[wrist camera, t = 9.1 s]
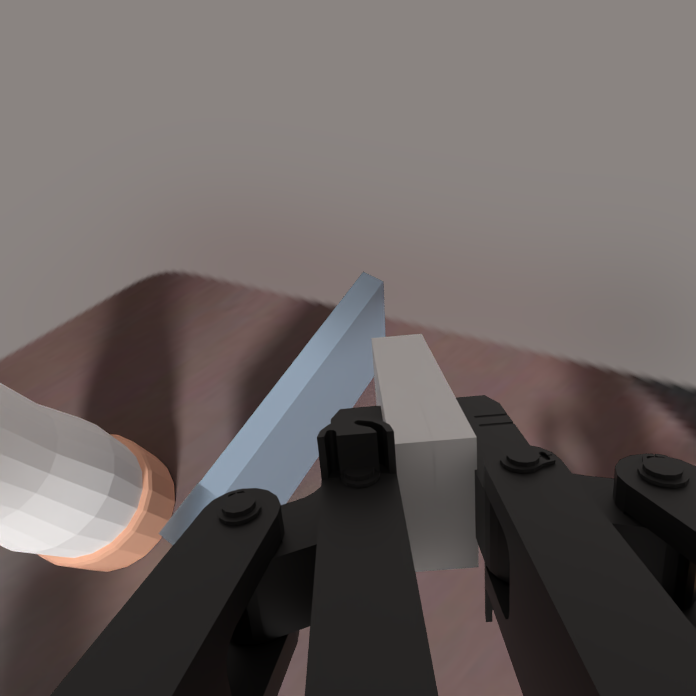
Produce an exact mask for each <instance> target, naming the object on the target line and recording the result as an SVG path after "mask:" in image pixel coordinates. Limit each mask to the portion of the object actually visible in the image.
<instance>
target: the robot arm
mask: <svg viewBox="0 0 696 696" xmlns="http://www.w3.org/2000/svg"><path fill="white" fill-rule="evenodd" d="M371 340H372V353H373V365H374V378H375V391H376V404H377V406H370V407H359V408H347V409H340V410H339V411H338V412H337V413H336V414H335V415H334V416H333V417H332V418H331V424H329V425H327V426H326V427H324V428H323V429H322V430H320V432H319V434H318V436H317V443H318V452H319V460H320V468H321V477H322V484H321V487H320V488H319V489H318V490H316V491H315V492H314V493H312V494H310V495H309V496H307V497H305V498H302V499H299V500H297V501H294V502H290V503H287V504H283V505H281V504H280V502H279V499H278V497H277V496H276V495H275V494H273V493H272V492H270V491H269V490H264V489H259V488H247V489H245V488H243V489H237V490H233V491H230V492H228V493H226V494H224V495H222V496H220V497H218V498H216V499H214V500H212V501H211V502H210V503H209V504H208V505H207V506H206V507H205V508H203V510H202V511H201V512H200V513H199V515H198V516H197V517H196V518H195V519H194V521H193V522H192V523H191V524H190V526H189V527H188V528H187V529H186V530H185V532H184V533H183V534H182V535H181V537H180V538H179V539H178V540H177V541H176V543H175V544H174V545H173V546H172V548H171V549H170V550H169V551H168V552H167V554H166V555H165V556H164V557H163V559H162V560H161V561H160V562H159V563H158V565H157V566H156V567H155V568H154V570H153V571H152V572H151V573H150V574H149V576H148V577H147V578H146V579H145V580H144V582H143V583H142V584H141V585H140V587H139V588H138V589H137V590H136V591H135V593H134V594H133V595H132V596H131V598H130V599H129V600H128V601H127V602H126V604H125V605H124V606H123V607H122V609H121V610H120V611H119V612H118V613H117V615H116V616H115V617H114V618H113V620H112V621H111V622H110V623H109V624H108V626H107V627H106V628H105V629H104V631H103V632H102V633H101V634H100V635H99V637H98V638H97V639H96V640H95V642H94V643H93V644H92V645H91V646H90V648H89V649H88V650H87V651H86V653H85V654H84V655H83V656H82V657H81V659H80V660H79V661H78V662H77V664H76V665H75V666H74V667H73V668H72V670H71V671H70V672H69V673H68V675H67V676H66V677H65V678H64V679H63V681H62V682H61V683H60V684H59V686H58V687H57V688H56V689H55V690H54V692H53V693H52V694H51V695H50V696H277V695H278V692H279V690H280V687H281V685H282V682H283V679H284V677H285V674H286V671H287V669H288V666H289V663H290V661H291V658H292V655H293V653H294V650H295V647H296V645H297V642H298V636H299V630H300V629H303V628H306V627H309V626H310V637H309V650H308V663H307V676H306V688H305V696H438V692H437V686H436V681H435V676H434V670H433V665H432V660H431V654H430V649H429V643H428V638H427V633H426V627H425V622H424V617H423V611H422V606H421V601H420V595H419V590H418V584H417V579H416V574H415V572H421V571H434V570H447V569H460V568H473V567H478V545H479V547H480V550H481V553H482V555H483V558H484V561H485V616H486V622H492V610H494V613H495V616H496V619H497V622H498V624H499V627H500V630H501V633H502V636H503V639H504V642H505V645H506V647H507V650H508V653H509V656H510V659H511V662H512V665H513V667H514V670H515V673H516V676H517V679H518V682H519V685H520V687H521V690H522V693H523V696H696V466H693V465H691V464H689V463H686V462H684V461H682V460H679V459H675V458H671V457H668V456H666V455H660V454H655V455H653V454H640V455H631V456H628V457H626V458H623V459H621V460H619V462H618V463H617V465H616V466H615V475H614V479H612V478H602V477H592V476H584V475H577V474H572V473H571V472H570V471H569V469H568V468H567V467H566V466H565V464H564V463H563V462H562V460H561V459H559V458H558V457H557V456H556V455H555V454H553V453H552V452H549V451H547V450H545V449H542V448H540V447H535V446H530V445H529V443H528V442H527V441H526V439H525V438H524V436H523V435H522V434H521V432H520V431H519V430H518V428H517V427H516V425H515V424H513V421H512V420H511V419H510V417H509V416H508V415H507V413H506V412H505V410H504V409H503V408H502V406H501V405H500V403H498V402H496V401H494V400H492V399H490V398H489V397H487V396H485V395H483V396H471V397H459V398H455V396H454V394H453V392H452V390H451V388H450V386H449V385H448V383H447V381H446V379H445V377H444V375H443V373H442V371H441V370H440V368H439V366H438V364H437V362H436V360H435V358H434V356H433V355H432V353H431V351H430V349H429V347H428V345H427V343H426V341H425V339H424V338H423V336H422V334H414V335H402V336H391V337H379V338H371Z"/></svg>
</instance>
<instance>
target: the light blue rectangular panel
mask: <svg viewBox="0 0 696 696" xmlns="http://www.w3.org/2000/svg"><path fill="white" fill-rule="evenodd" d="M379 337H385V313H384V284H383V281H381V280H379V279H377V278H375V277H373V276H371V275H369V274H367V273H365V272H363V273H362V274H361V275H360V277H359V278H358V279H357V280H356V282H355V283H354V284H353V286H352V287H351V288H350V290H349V291H348V292H347V293H346V295H345V296H344V297H343V298H342V300H341V301H340V302H339V304H338V305H337V306H336V307H335V309H334V310H333V311H332V313H331V314H330V315H329V316H328V318H327V319H326V320H325V322H324V323H323V324H322V326H321V327H320V328H319V329H318V331H317V332H316V333H315V335H314V336H313V337H312V338H311V340H310V341H309V342H308V344H307V345H306V346H305V347H304V349H303V350H302V351H301V353H300V354H299V355H298V356H297V358H296V359H295V360H294V362H293V363H292V364H291V365H290V367H289V368H288V369H287V371H286V372H285V373H284V374H283V376H282V377H281V378H280V380H279V381H278V382H277V383H276V385H275V386H274V387H273V389H272V390H271V391H270V393H269V394H268V395H267V396H266V398H265V399H264V400H263V402H262V403H261V404H260V405H259V407H258V408H257V409H256V411H255V412H254V413H253V414H252V416H251V417H250V418H249V420H248V421H247V422H246V423H245V425H244V426H243V427H242V429H241V430H240V431H239V432H238V434H237V435H236V436H235V438H234V439H233V440H232V441H231V443H230V444H229V445H228V447H227V448H226V449H225V450H224V452H223V453H222V454H221V456H220V457H219V458H218V460H217V461H216V462H215V463H214V465H213V466H212V467H211V469H210V470H209V471H208V472H207V474H206V475H205V476H204V478H203V479H202V480H201V481H200V483H197V485H196V486H195V487H194V489H193V490H192V491H191V493H190V494H189V495H188V496H187V498H186V499H185V500H184V502H183V503H182V504H181V505H180V507H179V508H178V509H177V511H176V512H175V513H174V514H173V516H172V517H171V518H170V520H169V521H168V522H167V523H166V525H165V526H164V527H163V529H162V530H161V531H160V532H159V534H160V535H161V536H162V537H163V538H165V539H166V540H167V541H168V542H169V543H171V544H172V545H174V544H175V543H176V541H177V540H178V539H179V538H180V537H181V535H182V534H183V533H184V532H185V530H186V529H187V528H188V527H189V526H190V524H191V523H192V522H193V521H194V519H195V518H196V517H197V516H198V515H199V513H200V512H201V511H202V510H203V508H205V507H206V506H207V505H208V504H209V503H210V502H211V501H212V500H214V499H216V498H218V497H220V496H222V495H224V494H226V493H228V492H230V491H233V490H237V489H243V488H245V489H247V488H259V489H264V490H269V491H270V492H272V493H273V494H275V495H276V496H277V497H278V499H279V502H280V504H281V505H283V504H286V503H287V501H288V500H289V498H290V497H291V495H292V494H293V493H294V491H295V490H296V488H297V487H298V485H299V484H300V482H301V481H302V480H303V478H304V477H305V475H306V474H307V472H308V471H309V469H310V468H311V467H312V465H313V464H314V462H315V461H316V459H317V458H318V456H319V452H318V443H317V436H318V434H319V432H320V430H322V429H323V428H324V427H326V426H327V425H329V424H331V418H332V417H333V416H334V415H335V414H336V413H337V412H338V411H339V410H340V409H347V408H352V407H353V406H354V404H355V403H356V402H357V400H358V399H359V397H360V396H361V394H362V393H363V391H364V390H365V389H366V387H367V386H368V384H369V383H370V381H371V380H372V378H373V377H374V365H373V353H372V340H371V338H379Z"/></svg>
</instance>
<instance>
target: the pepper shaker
mask: <svg viewBox="0 0 696 696" xmlns="http://www.w3.org/2000/svg"><path fill="white" fill-rule="evenodd" d="M174 504H175V492H174V483H173V480H172V478H171V475H170V473H169V471H168V468H167V467H166V466H165V465H164V464H163V463H162V462H161V461H160V460H159V459H158V458H157V457H156V456H154V455H153V454H151V453H150V452H148V451H147V450H145V449H144V448H142V447H141V446H139V445H138V444H136V443H135V442H133V441H131V440H128V439H126V438H124V437H122V436H119V435H114V434H108V433H107V432H106V431H104V430H103V429H101V428H100V427H99V426H97V425H96V424H93V423H91V422H89V421H86V420H84V419H82V418H79V417H76V416H73V415H70V414H67V413H64V412H61V411H58V410H55V409H52V408H49V407H46V406H43V405H40V404H37V403H35V402H33V401H31V400H29V399H28V398H26V397H24V396H22V395H21V394H19V393H17V392H15V391H14V390H12V389H10V388H8V387H7V386H5V385H3V384H2V383H0V546H2V547H5V548H7V549H9V550H11V551H17V552H25V553H33V554H38V555H39V556H40V557H42V558H44V559H46V560H47V561H49V562H51V563H53V564H55V565H59V566H65V567H72V568H79V569H86V570H94V571H105V572H109V571H113V570H117V569H120V568H124V567H128V566H129V565H131V564H132V563H134V562H136V561H137V560H139V559H141V558H142V557H144V556H145V555H146V554H147V553H148V552H149V551H150V550H151V549H152V548H153V547H154V546H155V545H156V544H157V543H158V542H159V541H160V539H161V538H162V536H161V535H160V534H159V532H160V531H161V530H162V529H163V527H164V526H165V525H166V523H167V522H168V521H169V520H170V518H171V517H172V513H173V509H174Z"/></svg>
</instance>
